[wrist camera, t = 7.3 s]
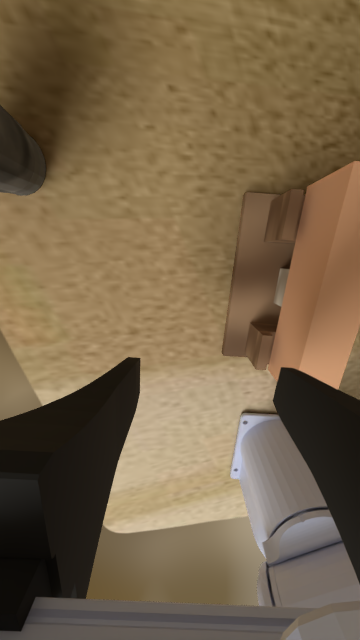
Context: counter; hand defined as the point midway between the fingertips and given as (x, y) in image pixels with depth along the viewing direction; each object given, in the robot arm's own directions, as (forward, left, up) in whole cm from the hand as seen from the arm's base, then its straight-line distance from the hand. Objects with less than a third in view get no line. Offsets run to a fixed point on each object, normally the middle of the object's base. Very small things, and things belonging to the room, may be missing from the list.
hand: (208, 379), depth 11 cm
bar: (+4, -8, -7) cm, 11 cm away
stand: (+4, -8, -10) cm, 13 cm away
